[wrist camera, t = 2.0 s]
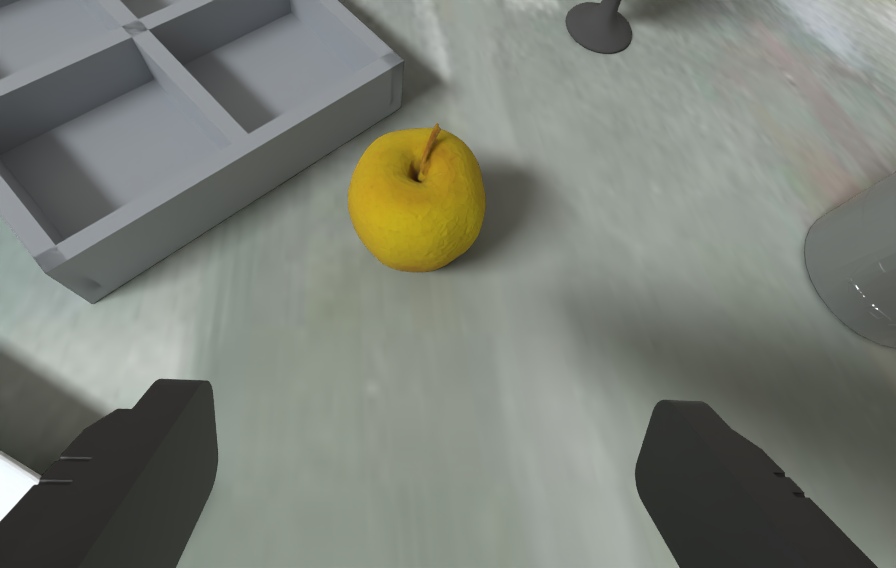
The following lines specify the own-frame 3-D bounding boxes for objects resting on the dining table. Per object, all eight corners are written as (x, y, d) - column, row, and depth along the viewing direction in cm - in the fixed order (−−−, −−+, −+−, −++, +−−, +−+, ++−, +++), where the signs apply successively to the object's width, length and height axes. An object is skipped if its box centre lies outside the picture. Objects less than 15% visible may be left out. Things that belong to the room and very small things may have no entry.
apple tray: (211, -71, 34) (193, -131, 30) (400, 107, 30) (404, 60, 27) (-105, 52, 27) (-172, -9, 23) (92, 304, 23) (45, 273, 20)
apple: (450, 183, 28) (476, 77, 21) (484, 281, 26) (526, 202, 19) (340, 202, 27) (327, 96, 20) (367, 309, 25) (363, 234, 17)
